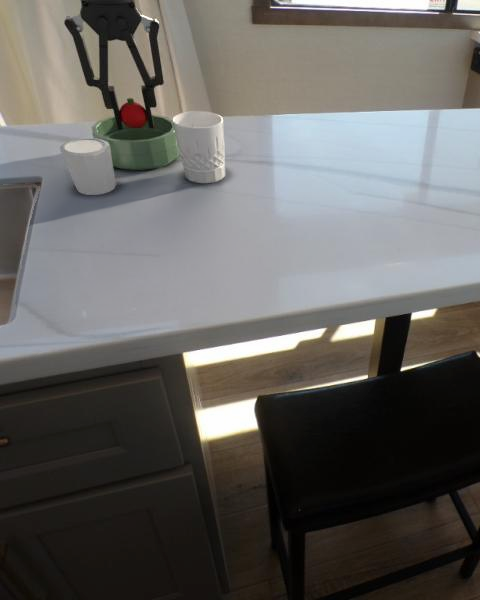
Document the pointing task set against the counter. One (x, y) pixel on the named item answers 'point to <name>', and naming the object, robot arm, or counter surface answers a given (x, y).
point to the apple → (133, 114)
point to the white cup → (201, 145)
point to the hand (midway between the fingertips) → (136, 125)
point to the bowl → (139, 143)
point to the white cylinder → (90, 165)
